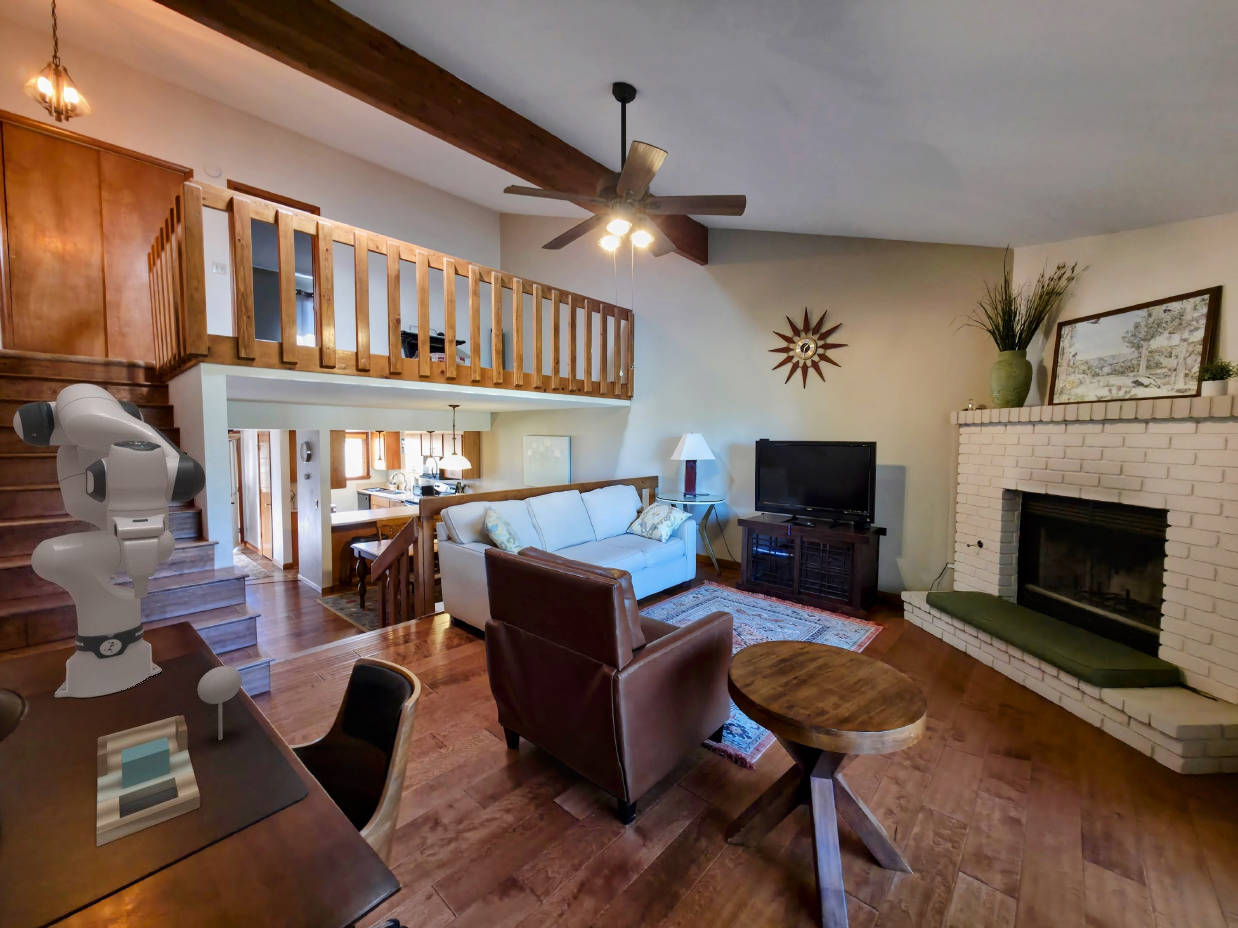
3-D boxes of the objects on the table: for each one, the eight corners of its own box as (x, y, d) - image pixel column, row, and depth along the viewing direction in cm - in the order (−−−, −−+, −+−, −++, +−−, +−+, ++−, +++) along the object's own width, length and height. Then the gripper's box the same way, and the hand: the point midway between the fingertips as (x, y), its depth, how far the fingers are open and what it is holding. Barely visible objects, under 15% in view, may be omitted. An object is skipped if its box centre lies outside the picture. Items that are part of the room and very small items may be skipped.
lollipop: (250, 733, 106) (249, 663, 105) (213, 752, 99) (212, 677, 98) (226, 726, 108) (226, 658, 107) (189, 745, 101) (188, 671, 101)
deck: (98, 747, 100) (98, 717, 100) (178, 724, 108) (178, 697, 108) (96, 846, 75) (96, 807, 75) (199, 807, 84) (199, 771, 84)
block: (121, 775, 89) (121, 750, 89) (167, 760, 93) (167, 736, 93) (122, 788, 85) (122, 762, 85) (169, 772, 90) (169, 748, 89)
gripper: (115, 518, 104) (116, 584, 105) (117, 531, 90) (118, 607, 90) (156, 516, 109) (157, 579, 109) (164, 527, 95) (165, 600, 95)
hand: (139, 592), depth 100 cm, fingers open, 8 cm apart
